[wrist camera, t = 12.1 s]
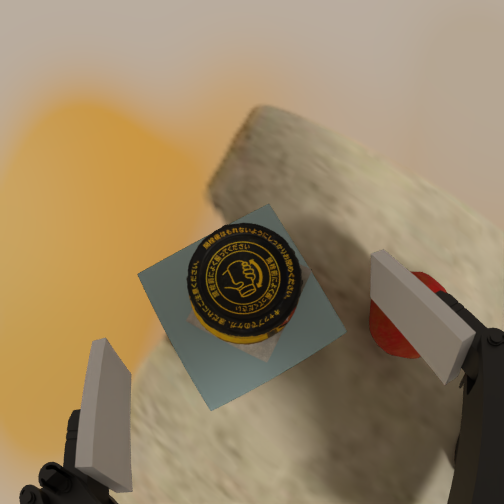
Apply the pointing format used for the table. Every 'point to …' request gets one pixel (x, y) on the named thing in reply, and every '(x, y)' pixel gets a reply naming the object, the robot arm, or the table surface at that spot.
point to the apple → (388, 332)
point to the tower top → (221, 353)
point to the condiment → (245, 287)
